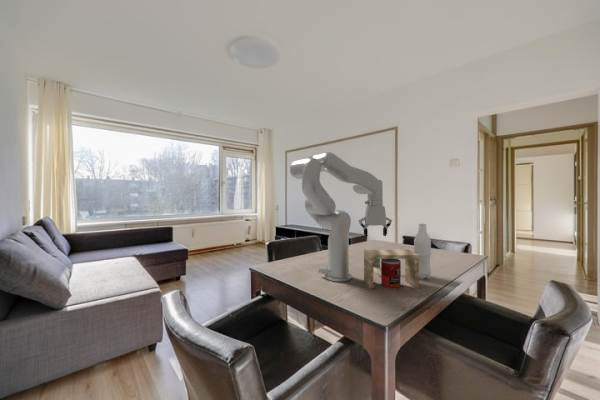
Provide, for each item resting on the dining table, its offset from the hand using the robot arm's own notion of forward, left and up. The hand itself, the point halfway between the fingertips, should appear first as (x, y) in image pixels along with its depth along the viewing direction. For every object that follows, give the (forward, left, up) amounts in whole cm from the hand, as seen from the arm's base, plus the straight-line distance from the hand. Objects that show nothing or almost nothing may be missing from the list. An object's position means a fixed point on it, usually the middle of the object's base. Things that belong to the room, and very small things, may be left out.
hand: (375, 235), depth 129 cm
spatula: (0, -8, -17) cm, 19 cm away
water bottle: (+18, -14, -17) cm, 29 cm away
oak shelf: (0, -23, -17) cm, 29 cm away
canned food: (0, -24, -17) cm, 30 cm away
